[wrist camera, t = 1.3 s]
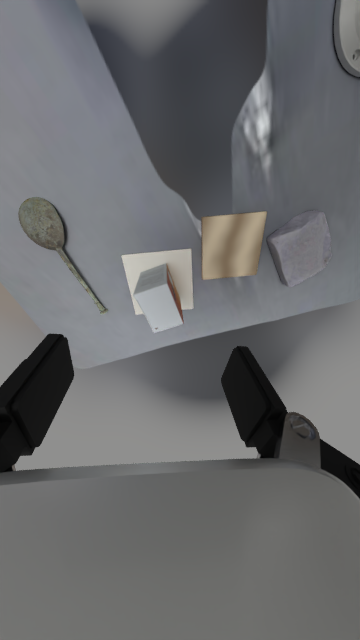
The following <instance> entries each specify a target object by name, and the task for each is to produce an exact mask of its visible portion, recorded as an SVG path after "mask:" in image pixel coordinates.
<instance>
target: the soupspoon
mask: <svg viewBox="0 0 360 640" xmlns="http://www.w3.org/2000/svg"><path fill="white" fill-rule="evenodd" d="M19 221H20V224H21V226H22V228H23V230H24V232H25V233H26V234H27V236H28V237H29V238H30V239H31V240H33V241H34V242H35V243H36V244H38V245H40V246H42V247H44V248H47V249H50V250H56V251H57V252H58V254H59V255H60V256H61V258H62V259H63V261H64V262H65V263H66V265H67V266H68V267H69V269H70V270H71V271H72V273H73V274H74V276H75V277H76V278H77V279H78V281H79V282H80V283H81V284H82V286H83V287H84V288H85V289H86V291H87V292H88V293H89V295H90V296H91V297H92V299H93V300H94V301H95V304H97V306H98V308H99V309H100V311H101V312H100V314H105V313H106V312H107V311H108V309H105V307H103V306H102V304H100V303H99V301H98V300H97V299H96V297H95V296H94V295H93V293H92V292H91V290H90V289H89V287H88V286H87V285H86V283H85V282H84V280H83V279H82V278H81V276H80V275H79V274H78V272H77V271H76V269H75V268H74V266H73V265H72V263H71V262H70V260H69V259H68V257H67V256H66V254H65V253H64V251H63V249H62V247H63V244H64V229H63V225H62V221H61V219H60V217H59V215H58V213H57V212H56V210H55V208H54V207H53V205H52V204H51V203H49V202H48V201H46V200H45V199H43V198H39V197H33V198H29V199H27V200H25V201H24V202H23V203H22V204H21V206H20V208H19Z"/></svg>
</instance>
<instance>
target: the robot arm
mask: <svg viewBox="0 0 360 640" xmlns="http://www.w3.org/2000/svg"><path fill="white" fill-rule="evenodd" d="M334 40H335V47H336V51H337V55H338V58H339V60H340V62H341V64H342V66H343V67H344V68H345V69H346V70H347V71H348V72H349V73H350V74H352V75H354V76H356V77H360V0H337V1H336V7H335V14H334ZM73 377H74V370H73V365H72V360H71V355H70V350H69V345H68V340H67V338H66V337H64V336H63V335H62V334H48V335H47V336H46V337H45V339H44V340H43V341H42V342H41V343H40V344H39V345H38V347H37V348H36V349H35V350H34V351H33V353H32V354H31V355H30V356H29V357H28V358H27V359H25V360H24V361H23V362H22V363H21V364H20V365H19V366H18V367H17V369H16V370H15V371H14V372H13V373H12V374H11V375H10V376H9V378H8V379H7V380H6V381H5V382H4V383H3V385H2V386H1V387H0V640H360V465H359V464H358V463H356V462H355V461H353V460H352V459H350V458H349V457H347V456H346V455H344V454H343V453H341V452H340V451H338V450H337V449H335V448H334V447H332V446H330V445H329V444H327V443H326V442H324V441H323V440H321V439H320V436H319V432H318V431H317V429H316V427H315V426H314V425H313V423H312V422H311V421H310V420H309V419H307V418H306V417H304V416H303V415H301V414H299V413H296V412H289V413H288V412H287V410H286V407H285V405H284V404H283V402H282V401H281V399H280V397H279V396H278V394H277V393H276V391H275V390H274V388H273V386H272V385H271V383H270V382H269V380H268V378H267V377H266V376H265V374H264V372H263V370H262V369H261V367H260V366H259V364H258V363H257V361H256V359H255V358H254V356H253V355H252V353H251V351H250V350H249V348H248V347H244V346H237V347H236V348H234V349H233V351H232V354H231V356H230V359H229V361H228V363H227V366H226V368H225V371H224V373H223V375H222V378H221V383H222V386H223V389H224V392H225V395H226V398H227V400H228V403H229V406H230V409H231V412H232V415H233V418H234V420H235V423H236V426H237V429H238V431H239V434H240V437H241V439H242V440H243V441H244V442H245V444H246V447H256V449H257V451H258V455H257V459H228V460H205V461H181V462H161V463H140V464H121V465H101V466H82V467H63V468H49V469H35V470H23V471H22V470H21V471H16V469H15V465H14V464H15V463H16V462H17V461H18V459H19V457H20V456H23V455H24V456H26V455H32V453H33V451H34V449H35V447H39V446H40V444H41V443H42V441H43V439H44V437H45V435H46V433H47V431H48V429H49V427H50V425H51V423H52V421H53V419H54V417H55V415H56V413H57V410H58V409H59V407H60V405H61V403H62V401H63V398H64V397H65V394H66V392H67V390H68V388H69V386H70V384H71V382H72V380H73Z"/></svg>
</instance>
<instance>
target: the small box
mask: <svg viewBox="0 0 360 640" xmlns="http://www.w3.org/2000/svg"><path fill="white" fill-rule="evenodd" d="M133 296H134V297H135V299H136V301H137V302H138V304H139V306H140V308H141V310H142V312H143V313H144V315H145V317H146V319H147V321H148V323H149V325H150V327H151V329H152V331H153V333H156V332H160V331H163V330H166V329H169V328H172V327H175V326H178V325H181V324H184V322H183V315H182V309H181V302H180V296H179V294H178V292H177V289H176V287H175V284H174V281H173V279H172V276H171V273H170V270H169V268H168V265H167V263H165V264H162V265H159V266H156V267H154V268H151V269H148V270H145V271H143V272H141V273H140V276H139V279H138V282H137V285H136V288H135V291H134V293H133Z"/></svg>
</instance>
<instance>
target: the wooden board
mask: <svg viewBox="0 0 360 640" xmlns="http://www.w3.org/2000/svg"><path fill="white" fill-rule="evenodd" d="M266 215H267V212H265V211H263V212H252V213H241V214H230V215H218V216H207V217H202V280H207V279H217V278H227V277H237V276H248V275H256V274H257V268H258V262H259V256H260V250H261V245H262V239H263V233H264V227H265V221H266Z"/></svg>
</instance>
